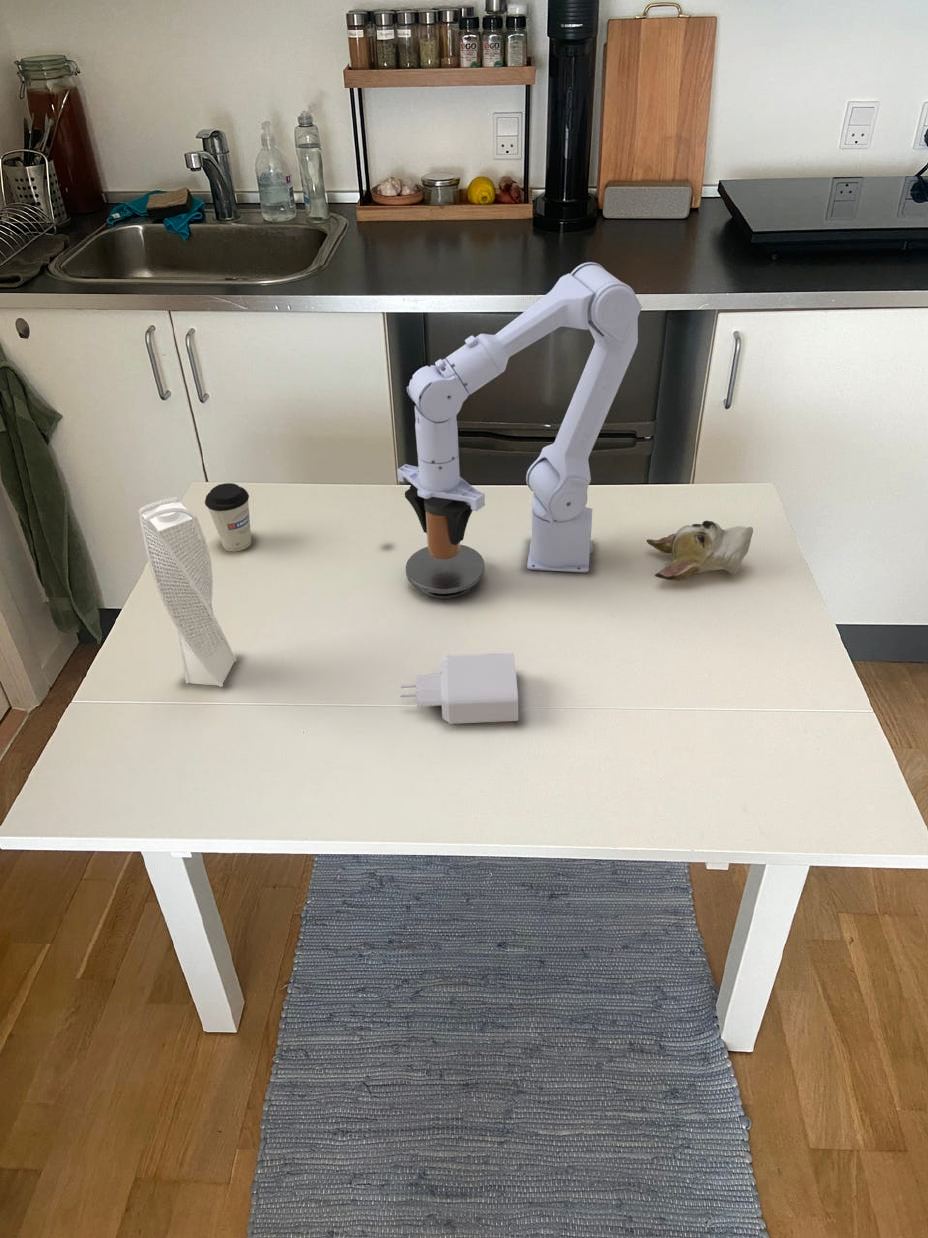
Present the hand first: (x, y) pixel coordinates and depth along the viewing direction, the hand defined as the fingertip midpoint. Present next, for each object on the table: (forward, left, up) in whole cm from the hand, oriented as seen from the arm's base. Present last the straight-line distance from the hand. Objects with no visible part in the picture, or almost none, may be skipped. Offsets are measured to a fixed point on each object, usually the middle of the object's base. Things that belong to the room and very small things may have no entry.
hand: (443, 535), depth 138 cm
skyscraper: (+29, +24, -9) cm, 39 cm away
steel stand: (0, 0, -8) cm, 8 cm away
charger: (-6, +26, -9) cm, 28 cm away
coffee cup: (+36, -7, -9) cm, 38 cm away
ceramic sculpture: (-38, -7, -9) cm, 40 cm away
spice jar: (0, 0, -3) cm, 3 cm away
